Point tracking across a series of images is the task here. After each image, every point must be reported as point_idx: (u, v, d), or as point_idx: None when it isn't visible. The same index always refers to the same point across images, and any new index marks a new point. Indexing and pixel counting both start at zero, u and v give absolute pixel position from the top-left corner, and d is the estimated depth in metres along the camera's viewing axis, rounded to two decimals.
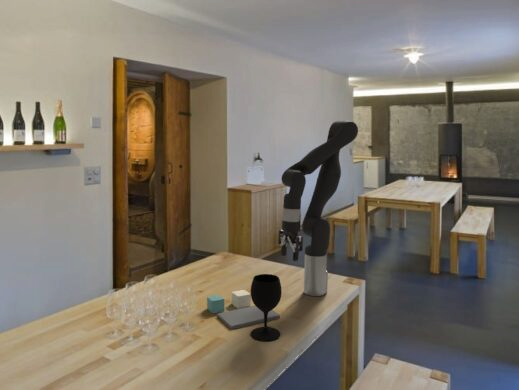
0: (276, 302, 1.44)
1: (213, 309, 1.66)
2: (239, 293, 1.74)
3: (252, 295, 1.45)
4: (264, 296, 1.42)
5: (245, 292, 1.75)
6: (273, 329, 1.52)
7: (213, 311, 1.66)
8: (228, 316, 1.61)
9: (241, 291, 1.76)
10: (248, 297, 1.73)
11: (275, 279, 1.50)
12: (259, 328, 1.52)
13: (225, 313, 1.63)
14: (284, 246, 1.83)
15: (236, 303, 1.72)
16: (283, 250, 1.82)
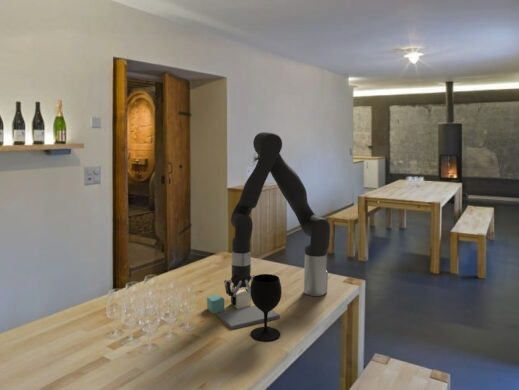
0: (276, 302, 1.44)
1: (213, 309, 1.66)
2: (239, 293, 1.74)
3: (252, 295, 1.45)
4: (264, 296, 1.42)
5: (244, 292, 1.75)
6: (273, 329, 1.52)
7: (213, 311, 1.66)
8: (228, 316, 1.61)
9: (241, 291, 1.76)
10: (248, 297, 1.73)
11: (275, 279, 1.50)
12: (259, 328, 1.52)
13: (225, 313, 1.63)
14: None
15: (236, 303, 1.72)
16: None
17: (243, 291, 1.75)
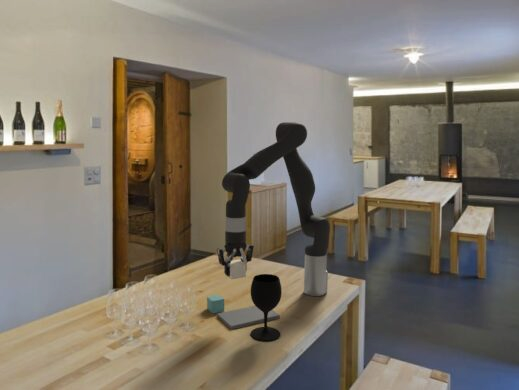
0: (276, 302, 1.44)
1: (213, 309, 1.66)
2: (234, 263, 1.58)
3: (252, 295, 1.45)
4: (263, 296, 1.42)
5: (239, 262, 1.59)
6: (273, 329, 1.52)
7: (213, 311, 1.66)
8: (228, 316, 1.61)
9: (235, 261, 1.60)
10: (243, 267, 1.57)
11: (275, 279, 1.50)
12: (259, 328, 1.52)
13: (225, 313, 1.63)
14: None
15: (230, 274, 1.56)
16: None
17: (238, 261, 1.60)
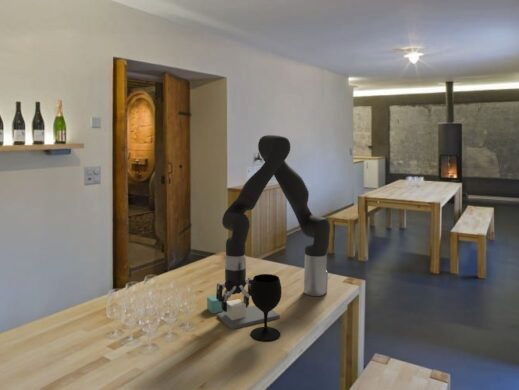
0: (276, 302, 1.44)
1: (213, 309, 1.66)
2: (234, 303, 1.60)
3: (252, 295, 1.45)
4: (264, 296, 1.42)
5: (239, 302, 1.61)
6: (273, 329, 1.52)
7: (213, 311, 1.66)
8: None
9: (235, 301, 1.62)
10: (243, 307, 1.59)
11: (275, 279, 1.50)
12: (259, 328, 1.52)
13: None
14: None
15: (230, 314, 1.58)
16: None
17: (238, 301, 1.62)
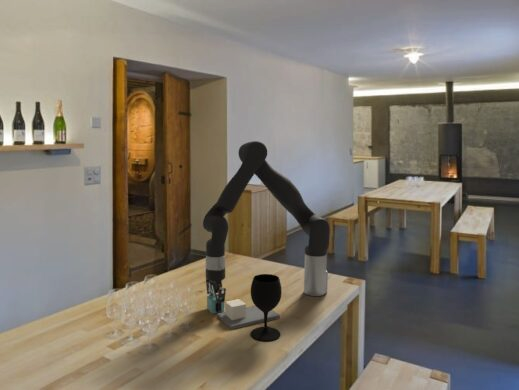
0: (276, 302, 1.44)
1: (213, 309, 1.66)
2: (234, 303, 1.60)
3: (252, 295, 1.45)
4: (264, 296, 1.42)
5: (239, 302, 1.61)
6: (273, 329, 1.52)
7: (213, 311, 1.66)
8: None
9: (235, 301, 1.62)
10: (243, 307, 1.59)
11: (275, 279, 1.50)
12: (259, 328, 1.52)
13: None
14: None
15: (230, 314, 1.58)
16: None
17: (238, 301, 1.62)
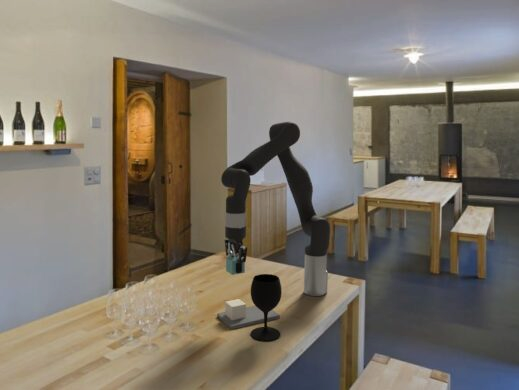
0: (276, 302, 1.44)
1: (233, 270, 1.56)
2: (234, 303, 1.60)
3: (252, 295, 1.45)
4: (263, 296, 1.42)
5: (239, 302, 1.61)
6: (273, 329, 1.52)
7: (233, 272, 1.56)
8: None
9: (235, 301, 1.62)
10: (243, 307, 1.59)
11: (275, 279, 1.50)
12: (259, 328, 1.52)
13: None
14: None
15: (230, 314, 1.58)
16: None
17: (238, 301, 1.62)
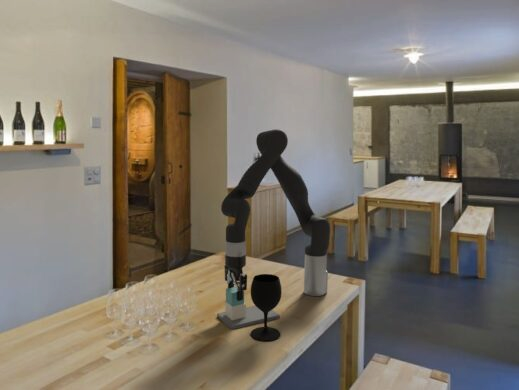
0: (276, 302, 1.44)
1: (233, 301, 1.57)
2: None
3: (252, 295, 1.45)
4: (263, 296, 1.42)
5: None
6: (273, 329, 1.52)
7: (233, 303, 1.58)
8: None
9: None
10: (243, 307, 1.59)
11: (275, 279, 1.50)
12: (259, 328, 1.52)
13: None
14: None
15: (230, 314, 1.58)
16: None
17: None
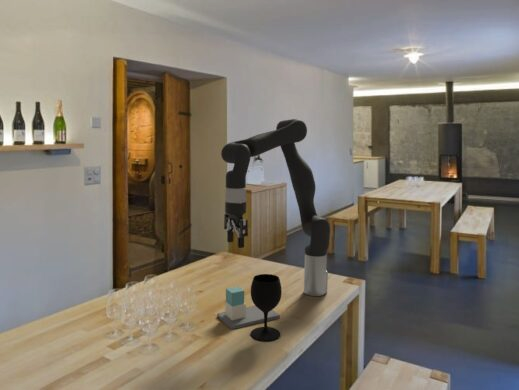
0: (276, 302, 1.44)
1: (233, 301, 1.57)
2: None
3: (252, 295, 1.45)
4: (264, 296, 1.42)
5: None
6: (273, 329, 1.52)
7: (233, 303, 1.58)
8: None
9: None
10: (243, 307, 1.59)
11: (275, 279, 1.50)
12: (259, 328, 1.52)
13: None
14: None
15: (230, 314, 1.58)
16: None
17: None
